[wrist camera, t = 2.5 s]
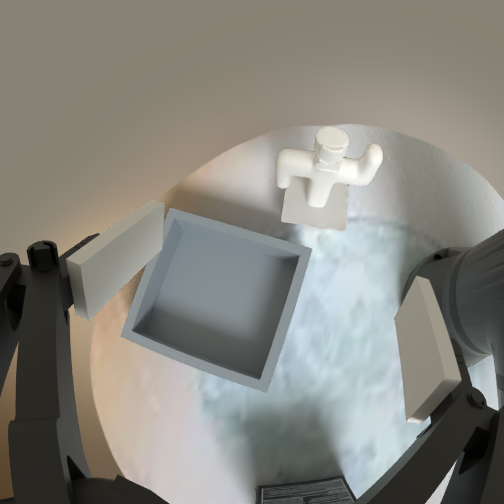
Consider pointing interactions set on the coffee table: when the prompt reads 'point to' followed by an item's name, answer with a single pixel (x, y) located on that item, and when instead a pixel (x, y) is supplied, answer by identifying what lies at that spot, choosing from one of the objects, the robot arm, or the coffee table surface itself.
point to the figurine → (323, 179)
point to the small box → (307, 492)
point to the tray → (218, 298)
